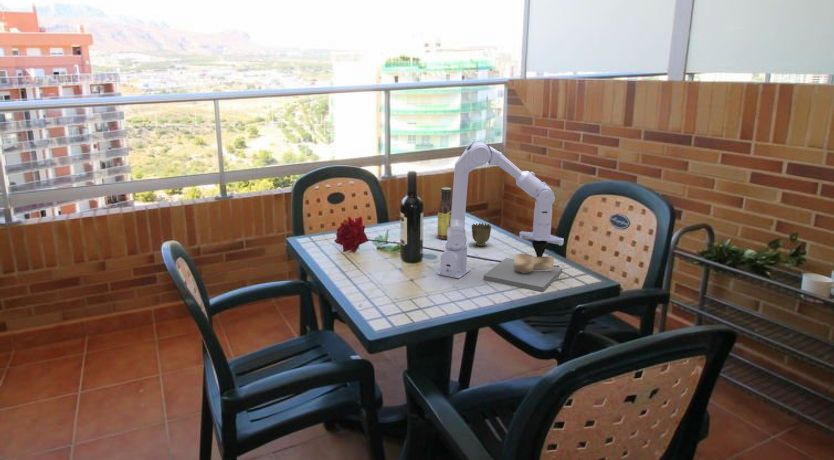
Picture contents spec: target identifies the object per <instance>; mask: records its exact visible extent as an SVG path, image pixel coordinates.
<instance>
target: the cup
mask: <svg viewBox="0 0 834 460" xmlns="http://www.w3.org/2000/svg"><path fill="white" fill-rule="evenodd" d="M491 230H492V226H491V225H490V223H488V224H487V223H483V222H482V223H481V222H479V223H473V224H471V235H472V239H473V241H474V242H475V245H476V246H477V247H480V248H481V247H482V248H483V247H486V244H487V242H488V241H489V239H490V237H491Z"/></svg>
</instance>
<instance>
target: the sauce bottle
mask: <svg viewBox="0 0 834 460" xmlns="http://www.w3.org/2000/svg"><path fill="white" fill-rule="evenodd" d="M440 191H441V196H440V197H441V200H440V201H439V203H438V207H437V210H438V211H437V238H438V239H440V240H446V241H447V229H448V227H449V226H450V220H451V211H452V193H453V188H451V187H441V189H440Z"/></svg>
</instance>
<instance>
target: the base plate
mask: <svg viewBox="0 0 834 460" xmlns="http://www.w3.org/2000/svg"><path fill="white" fill-rule="evenodd" d="M514 260H515V258H511V257H505V258H504V259H503V260H501V261H500V262H499V263H497V264H496V265H495V266H494V267H492V268H491V269H490V270H488V272H486V273H485V274H484V275H483V281H487V282H492V283H497V284H502V285H508V286H513V287H517V288H521V289H522V288H523V289H527V290H532V291H537V292H542V293H543V292H544V291H546V290H547V288H548V287H549V286H550V285H551V284H552V283H553V282H554V281H555V280H556V279H557V278H558V277H559V276H560V275H561V274H562V273H563V267H560V266H554V265H553V268H534V270H533V271H531V272H520V271H516V270H515V269H514Z"/></svg>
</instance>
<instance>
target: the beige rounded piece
mask: <svg viewBox="0 0 834 460" xmlns="http://www.w3.org/2000/svg"><path fill="white" fill-rule="evenodd" d="M514 259H515V260H514V269H515V270H516V271H520V272H531V271H533V270H534V268H553V266H554V264H555V263H554V262H555V258H554V257H553V256H542V257H537V256H533V255H531V254H528V253H518V254H515V255H514Z"/></svg>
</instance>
